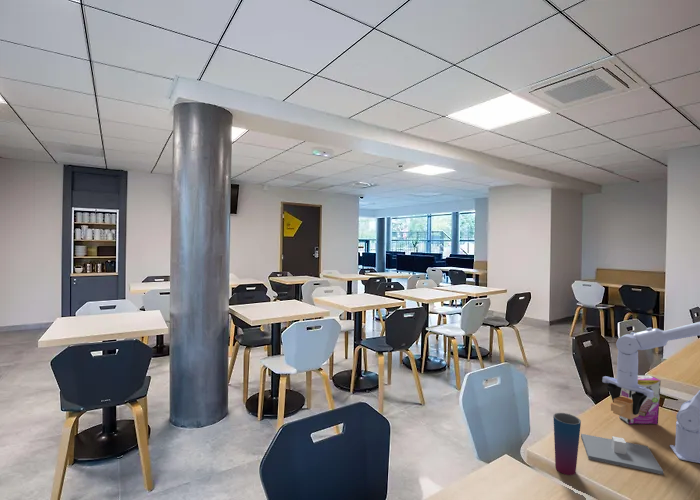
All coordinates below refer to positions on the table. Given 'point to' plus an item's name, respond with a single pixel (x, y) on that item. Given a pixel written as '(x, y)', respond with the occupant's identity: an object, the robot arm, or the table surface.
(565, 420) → the cup
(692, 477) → the table surface
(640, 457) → the duct board
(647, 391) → the robot arm
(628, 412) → the tan square tube
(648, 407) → the candy bar box
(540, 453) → the table surface
